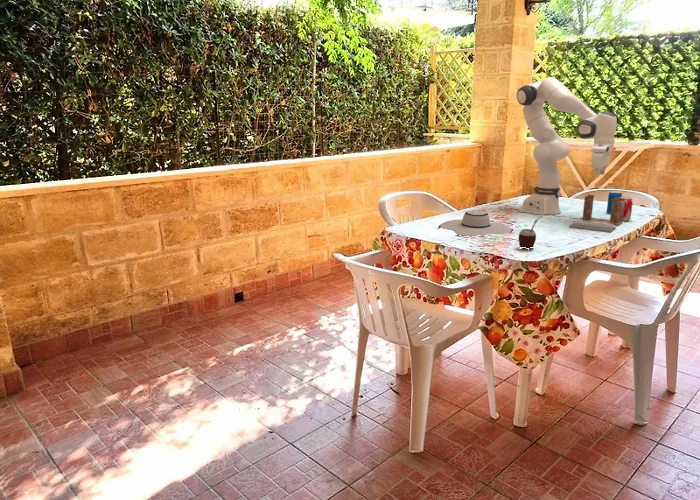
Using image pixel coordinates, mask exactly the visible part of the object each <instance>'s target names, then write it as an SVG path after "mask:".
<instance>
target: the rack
mask: <svg viewBox="0 0 700 500" xmlns="http://www.w3.org/2000/svg"><path fill="white" fill-rule="evenodd" d="M594 198H595V195H593V194H587V195H585V196H584V202H583V211H582V216H581V217H580V218H579V219H580V220H589V221H598V222H607V223H614V227H620V226H621V225H622V224H623V223H624V222H623V221H619V216H620V208H621V200H622V198H618V197H615V199H613V200H612V208H611V214H610V218H608V219H607V218H598V217H593V208H594Z"/></svg>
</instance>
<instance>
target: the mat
mask: <svg viewBox="0 0 700 500" xmlns="http://www.w3.org/2000/svg"><path fill="white" fill-rule="evenodd" d="M568 228H570V229H579V230H586V231H587V230H588V231H593V232H595V231H596V232H603V233H609V234H610V233H612V232H614V230H616V229H617V226H614V228H613V229H604V228H596V227H588V226H579V225H573V223H572V224H570V225H569V226H568Z"/></svg>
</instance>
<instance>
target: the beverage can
mask: <svg viewBox="0 0 700 500" xmlns="http://www.w3.org/2000/svg"><path fill="white" fill-rule="evenodd" d="M615 197H618V198H619V197H623V194H622V192H621V191H618V190H610V191H609V193H608V198H607V205H606V206H607V207H606V213H607V214H608V215H611V208H612V200H613V199H615Z"/></svg>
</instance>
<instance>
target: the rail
mask: <svg viewBox="0 0 700 500" xmlns="http://www.w3.org/2000/svg"><path fill="white" fill-rule="evenodd" d="M572 224H573V225H579V226H588V227H596V228H604V229H613V228H614V227H615V226H614V223H607V222H598V221H589V220H580V218H574V219H573V220H572Z"/></svg>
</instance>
